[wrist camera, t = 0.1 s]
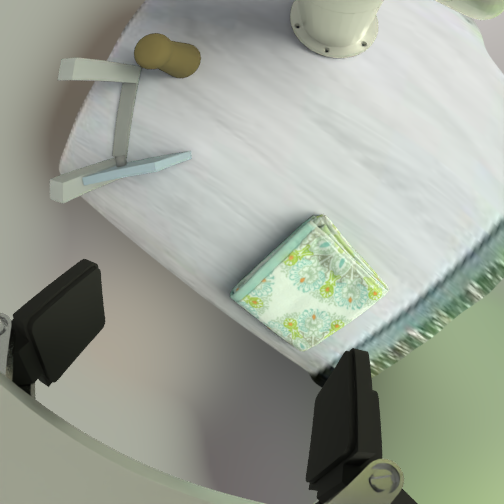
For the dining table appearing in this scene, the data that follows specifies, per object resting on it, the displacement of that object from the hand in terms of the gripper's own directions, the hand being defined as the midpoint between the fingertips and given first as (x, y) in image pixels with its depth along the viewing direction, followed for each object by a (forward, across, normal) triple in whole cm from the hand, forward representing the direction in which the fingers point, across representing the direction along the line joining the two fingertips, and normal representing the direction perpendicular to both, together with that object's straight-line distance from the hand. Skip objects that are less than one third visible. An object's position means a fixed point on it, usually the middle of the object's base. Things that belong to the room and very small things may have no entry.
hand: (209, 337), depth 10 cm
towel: (+37, -8, +18) cm, 42 cm away
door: (+36, +22, +3) cm, 42 cm away
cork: (+37, +21, -13) cm, 44 cm away
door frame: (+37, +30, -2) cm, 47 cm away
